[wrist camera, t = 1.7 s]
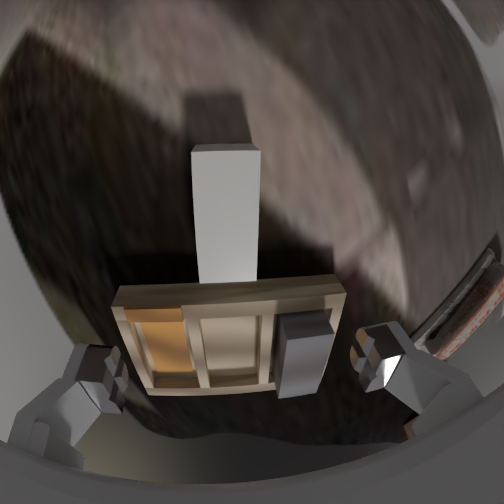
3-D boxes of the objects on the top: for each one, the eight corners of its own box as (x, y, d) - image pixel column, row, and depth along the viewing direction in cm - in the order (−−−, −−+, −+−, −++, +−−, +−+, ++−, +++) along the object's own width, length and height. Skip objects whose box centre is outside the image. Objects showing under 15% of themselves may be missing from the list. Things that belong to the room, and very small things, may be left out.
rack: (119, 285, 23) (102, 327, 18) (334, 273, 25) (358, 311, 20) (151, 374, 29) (146, 412, 24) (313, 363, 31) (326, 399, 27)
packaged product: (509, 261, 23) (515, 290, 27) (486, 244, 27) (497, 274, 31) (421, 362, 29) (441, 373, 33) (405, 338, 33) (428, 353, 37)
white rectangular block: (195, 144, 18) (191, 152, 15) (252, 143, 19) (260, 150, 15) (201, 255, 23) (199, 283, 19) (249, 253, 23) (256, 280, 20)
